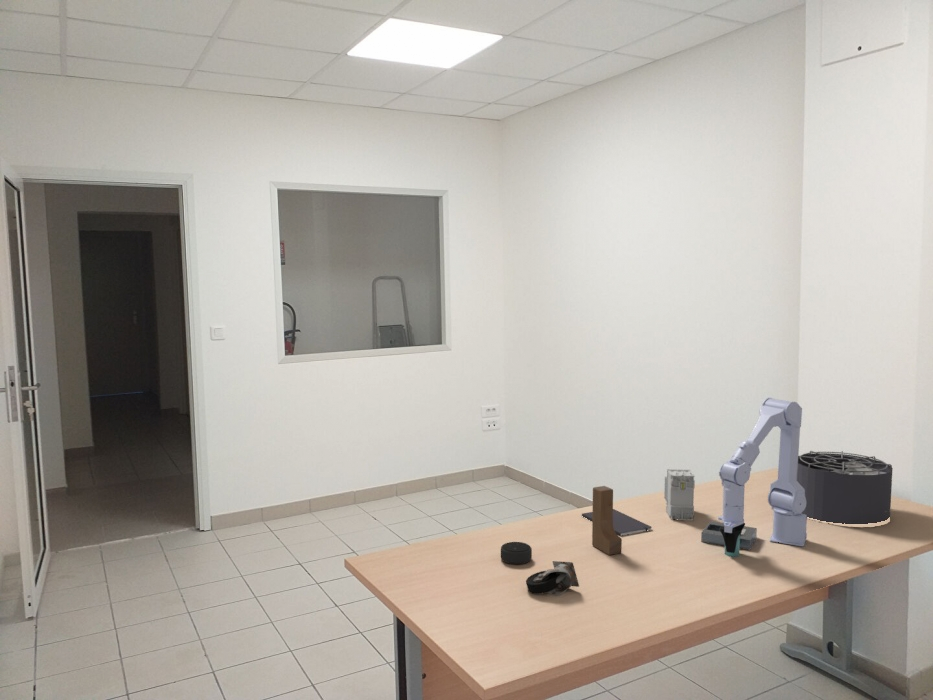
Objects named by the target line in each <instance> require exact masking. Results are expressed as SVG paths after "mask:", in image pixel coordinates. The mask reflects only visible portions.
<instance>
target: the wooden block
mask: <svg viewBox="0 0 933 700" xmlns="http://www.w3.org/2000/svg"><path fill="white" fill-rule="evenodd" d="M613 509H614V490H613V488H611V487H608V486H606V485H602V486H601V485H600V486H595V487H592V512H593V517H592V522H591V523H592V524H591V525H592V527H591V528H592V530H591V533H592V535H591V536H592V538H591V539H592V540H591V542H592V543H591V545H592V546H593V547H594V548H597V549H598V550H600V551H601V552H603V553H605V554H606V555H608V556H611V555H612V556H613V555H617V554H621V553H622V549H623V547H622V544H623V543H622V538H621V536H619V535H617V534H616V533H615V530H614V528H613Z"/></svg>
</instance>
